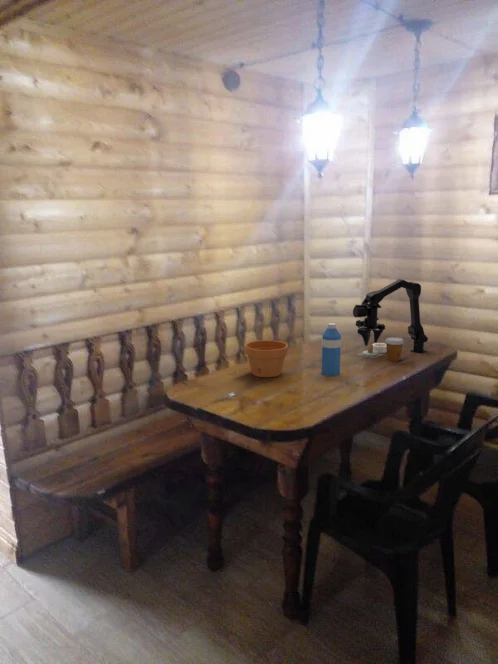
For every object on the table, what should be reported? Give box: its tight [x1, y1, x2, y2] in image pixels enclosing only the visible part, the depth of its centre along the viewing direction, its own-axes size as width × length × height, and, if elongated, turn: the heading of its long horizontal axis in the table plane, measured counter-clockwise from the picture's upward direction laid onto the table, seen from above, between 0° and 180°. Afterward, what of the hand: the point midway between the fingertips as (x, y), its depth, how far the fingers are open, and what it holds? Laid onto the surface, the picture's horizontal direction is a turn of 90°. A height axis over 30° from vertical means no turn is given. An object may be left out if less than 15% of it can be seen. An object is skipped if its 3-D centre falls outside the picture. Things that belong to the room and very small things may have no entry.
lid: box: [362, 344, 378, 357], centre depth 307 cm, size 8×8×5 cm
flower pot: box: [244, 339, 289, 378], centre depth 276 cm, size 21×21×15 cm
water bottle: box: [321, 322, 342, 377], centre depth 274 cm, size 9×9×25 cm
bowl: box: [371, 342, 387, 354], centre depth 315 cm, size 9×9×4 cm
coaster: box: [356, 351, 385, 359], centre depth 308 cm, size 11×11×1 cm
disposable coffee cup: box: [384, 336, 404, 362], centre depth 297 cm, size 10×10×12 cm
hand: (370, 344), depth 306 cm, fingers open, 9 cm apart
